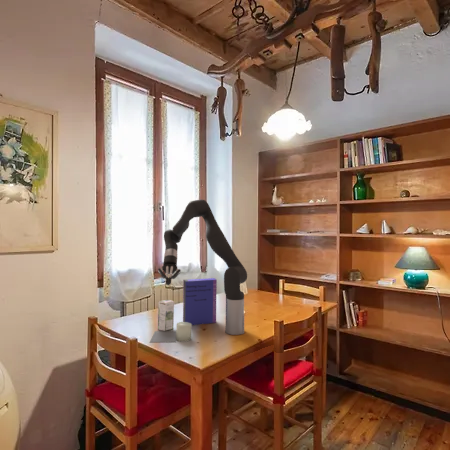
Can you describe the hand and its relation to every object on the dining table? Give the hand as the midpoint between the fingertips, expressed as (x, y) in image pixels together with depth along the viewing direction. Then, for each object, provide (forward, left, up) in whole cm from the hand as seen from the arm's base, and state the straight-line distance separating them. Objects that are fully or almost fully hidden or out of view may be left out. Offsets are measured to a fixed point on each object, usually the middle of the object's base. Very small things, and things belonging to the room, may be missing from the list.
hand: (168, 284), depth 185 cm
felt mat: (-1, +21, -21) cm, 30 cm away
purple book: (-17, -1, -21) cm, 28 cm away
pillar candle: (-10, +24, -21) cm, 34 cm away
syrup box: (0, +10, -21) cm, 24 cm away
